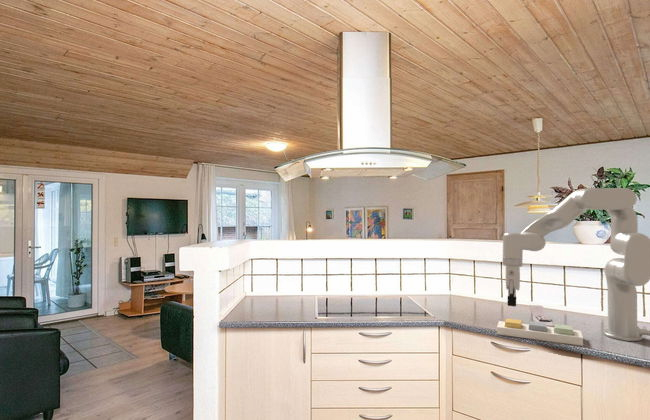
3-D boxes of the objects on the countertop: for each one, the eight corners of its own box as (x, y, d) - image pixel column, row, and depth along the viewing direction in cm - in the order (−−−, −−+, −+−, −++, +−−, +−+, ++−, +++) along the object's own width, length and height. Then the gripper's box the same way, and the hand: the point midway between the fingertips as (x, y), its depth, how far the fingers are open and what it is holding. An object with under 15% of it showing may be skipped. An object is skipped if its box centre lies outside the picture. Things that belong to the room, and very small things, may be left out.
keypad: (580, 338, 156) (580, 330, 156) (583, 345, 147) (583, 337, 147) (499, 327, 170) (499, 320, 170) (496, 334, 162) (496, 327, 162)
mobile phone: (542, 305, 187) (556, 318, 163) (542, 317, 187) (556, 333, 163) (528, 304, 189) (540, 318, 165) (528, 316, 189) (540, 332, 165)
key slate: (546, 329, 160) (546, 322, 160) (546, 333, 155) (546, 326, 155) (529, 327, 163) (529, 321, 163) (529, 330, 158) (529, 324, 158)
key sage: (572, 332, 156) (572, 325, 156) (573, 336, 150) (573, 330, 150) (554, 330, 158) (554, 323, 158) (555, 334, 153) (555, 327, 153)
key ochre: (521, 326, 164) (521, 320, 164) (521, 329, 159) (521, 323, 159) (506, 324, 167) (506, 318, 167) (505, 327, 162) (505, 321, 162)
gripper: (521, 264, 155) (521, 310, 155) (523, 260, 168) (522, 303, 168) (501, 263, 158) (500, 308, 158) (504, 259, 171) (503, 301, 171)
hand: (511, 305), depth 163 cm, fingers closed
